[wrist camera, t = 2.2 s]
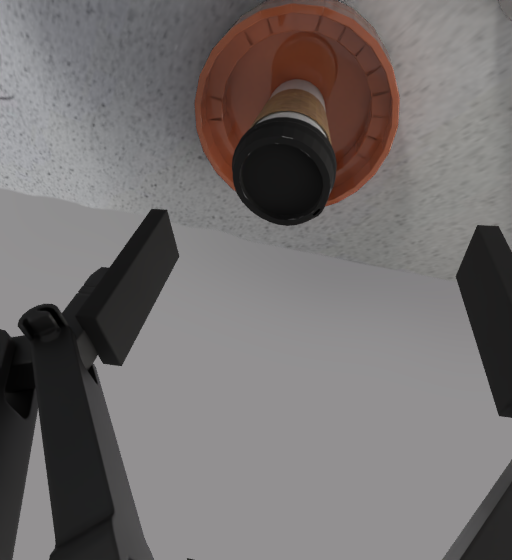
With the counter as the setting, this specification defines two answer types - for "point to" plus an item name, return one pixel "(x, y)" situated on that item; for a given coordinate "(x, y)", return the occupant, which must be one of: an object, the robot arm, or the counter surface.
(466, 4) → the counter surface
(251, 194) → the coffee cup
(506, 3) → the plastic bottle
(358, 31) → the bowl
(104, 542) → the robot arm
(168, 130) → the counter surface
